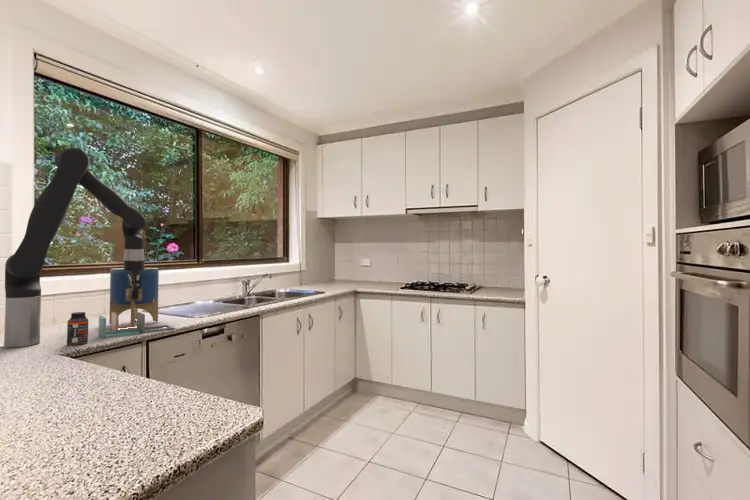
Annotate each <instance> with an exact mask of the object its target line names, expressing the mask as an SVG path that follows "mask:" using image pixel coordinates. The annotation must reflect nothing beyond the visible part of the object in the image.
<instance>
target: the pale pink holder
mask: <svg viewBox="0 0 750 500" xmlns="http://www.w3.org/2000/svg"><path fill="white" fill-rule="evenodd" d="M119 316H120V315H119V314H118V313H116V312H114V311H113V312H112V318H111V327H110V330H111V331H119V330H118V328H127V327H135V326H137V324H135V325H131V324H130V325H129V324H128V325H122V326H121V325H120V326H119ZM145 327H150V326H149V325H147V324H145ZM128 329H135V330H137V328H128ZM120 330H127V329H120Z"/></svg>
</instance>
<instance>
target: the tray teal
mask: <svg viewBox="0 0 750 500" xmlns="http://www.w3.org/2000/svg"><path fill="white" fill-rule="evenodd" d="M139 334H140V332H139V331H137V330H135V329H127V330H119V331H113V330H111V331H107V317H105V316H103V315H99V316H98V337H99V338H101V339H102V340H104V339H109V338H117V337H125V336H132V335H133V336H134V335H139Z"/></svg>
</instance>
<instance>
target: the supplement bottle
mask: <svg viewBox="0 0 750 500" xmlns="http://www.w3.org/2000/svg"><path fill="white" fill-rule="evenodd" d="M70 315H71V317H70V318H69V319H68V320H67V327H66V331H67V333H66V344H67V345H68V346H79V345H86V344H87V343H88V341H89V318H87V317H86V312H84V311H79V312H76V311H75V312H71V314H70Z"/></svg>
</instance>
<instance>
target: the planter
mask: <svg viewBox="0 0 750 500" xmlns="http://www.w3.org/2000/svg"><path fill="white" fill-rule="evenodd" d="M159 269H160V268H158V267H144V270H143V271H139V275H140V276H141V288H140V289H142V300H139V301H126V289H128V287H127V275H129V271H124V267H123V268H122V267H121V268H119V267H117V268H110V273H109V274H110V278H109V279H110V280H109V281H110V282H109V283H110V284H109V324H111V318H112V312H113V311H114V312H116V313H118V314H119V316H120V315H121V314H122V313H123V312H125V311H127V310H130V325H136V324H135V322H136V321H135V319H137V312H139V309H140V310H144V311H146V312H147V313H149V314H150V316H151V318H152V322H153V321H158V322H159V283H160V282H159V279H160V278H159V276H160V275H159V274H160V273H159V271H160V270H159ZM136 286H137V285H136ZM109 324H108V325H109Z"/></svg>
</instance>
